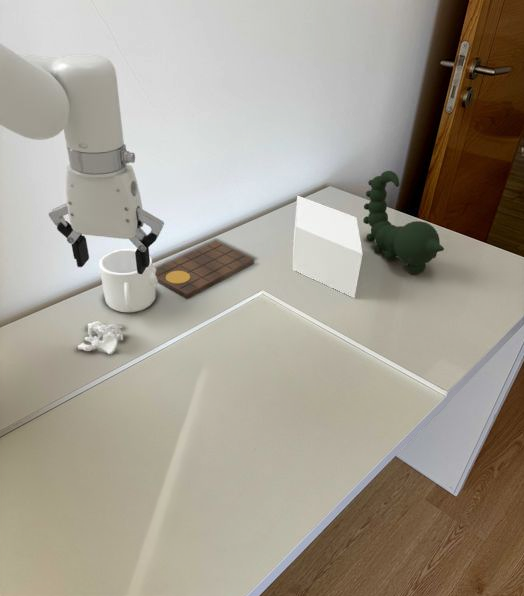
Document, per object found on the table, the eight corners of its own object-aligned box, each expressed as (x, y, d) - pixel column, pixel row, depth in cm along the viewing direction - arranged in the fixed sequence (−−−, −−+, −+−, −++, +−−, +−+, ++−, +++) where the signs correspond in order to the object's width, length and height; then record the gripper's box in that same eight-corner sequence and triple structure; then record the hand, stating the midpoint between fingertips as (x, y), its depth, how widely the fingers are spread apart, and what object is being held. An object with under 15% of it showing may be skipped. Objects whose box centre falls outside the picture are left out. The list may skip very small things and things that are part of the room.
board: (187, 299, 105) (186, 293, 104) (148, 276, 111) (147, 271, 110) (254, 263, 117) (254, 258, 116) (215, 245, 123) (215, 240, 122)
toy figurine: (350, 246, 129) (418, 290, 110) (358, 167, 118) (435, 201, 99) (381, 240, 132) (452, 281, 114) (392, 162, 121) (472, 194, 103)
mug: (160, 320, 99) (156, 279, 94) (104, 324, 98) (96, 283, 92) (158, 286, 108) (154, 247, 103) (107, 289, 107) (100, 249, 101)
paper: (320, 231, 131) (324, 191, 124) (384, 292, 110) (394, 248, 104) (266, 240, 126) (268, 199, 120) (323, 305, 106) (329, 259, 99)
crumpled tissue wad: (86, 313, 94) (123, 312, 94) (92, 333, 96) (128, 331, 96) (74, 341, 88) (113, 340, 87) (80, 360, 90) (119, 359, 90)
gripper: (166, 154, 75) (172, 261, 86) (49, 143, 76) (70, 249, 87) (150, 173, 69) (159, 285, 80) (24, 161, 70) (50, 272, 81)
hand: (113, 266), depth 83 cm, fingers open, 9 cm apart
